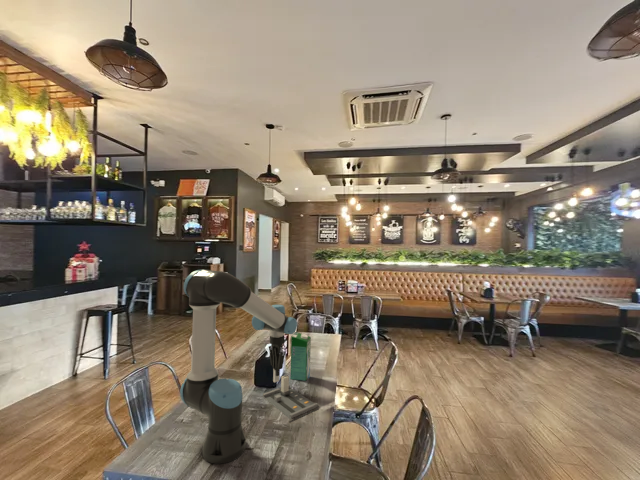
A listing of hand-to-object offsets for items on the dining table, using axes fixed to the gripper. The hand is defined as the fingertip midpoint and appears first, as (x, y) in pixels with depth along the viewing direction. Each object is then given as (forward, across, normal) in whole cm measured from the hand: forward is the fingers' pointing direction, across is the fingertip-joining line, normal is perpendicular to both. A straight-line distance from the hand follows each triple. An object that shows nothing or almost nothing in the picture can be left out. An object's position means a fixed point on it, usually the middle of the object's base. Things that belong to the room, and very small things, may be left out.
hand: (276, 381), depth 152 cm
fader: (+3, -8, 0) cm, 9 cm away
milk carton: (+5, +3, -18) cm, 19 cm away
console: (+5, -15, +2) cm, 16 cm away
